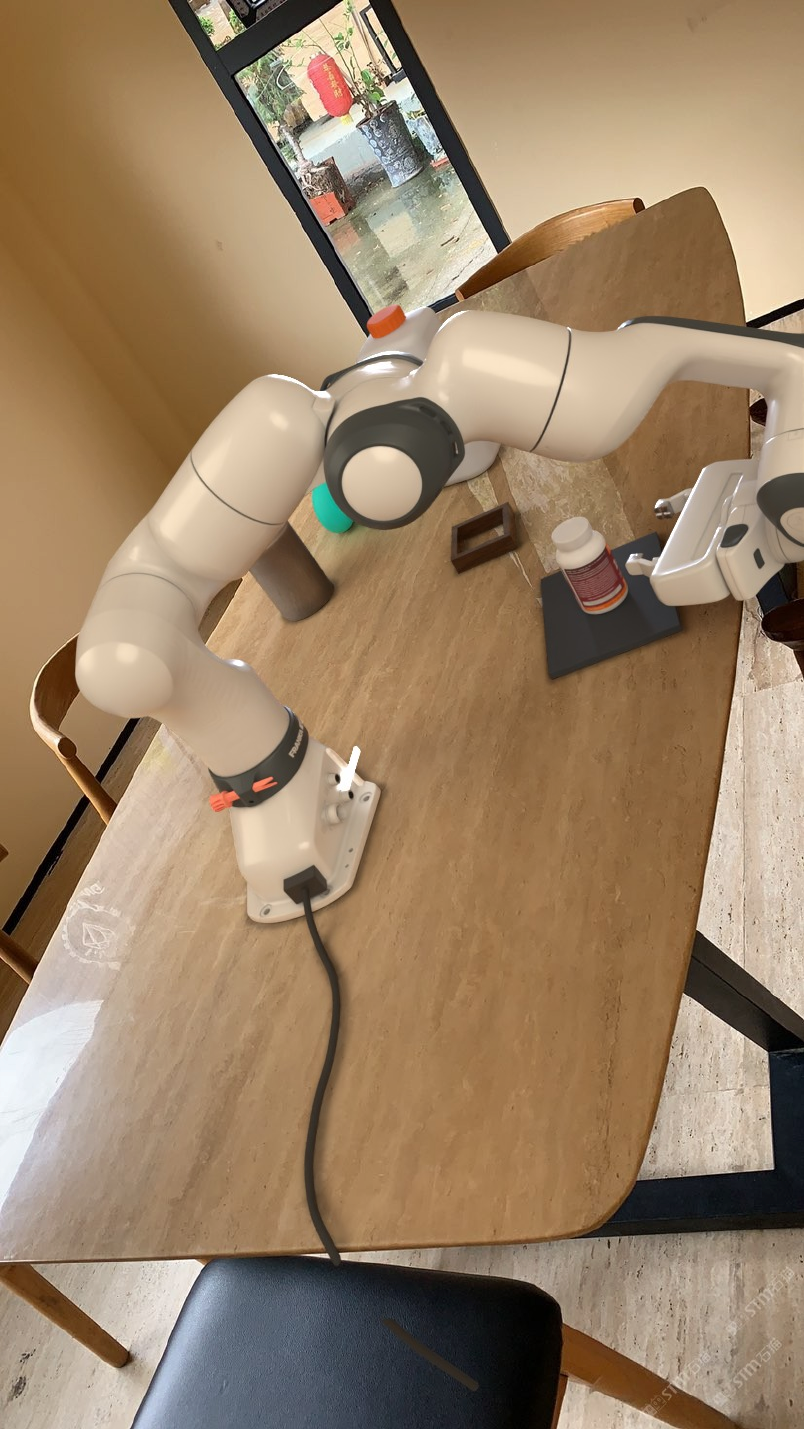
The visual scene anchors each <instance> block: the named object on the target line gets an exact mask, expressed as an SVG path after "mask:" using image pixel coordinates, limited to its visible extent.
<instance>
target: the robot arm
mask: <svg viewBox="0 0 804 1429" xmlns="http://www.w3.org/2000/svg"><path fill="white" fill-rule="evenodd" d="M679 382H694V383H703V384H709V385H717V386H725V387H731V388H732V387H733V388H741V389H747V390H753V391H757V392H758V393H759V394H760V395H761V396H762V397H763V398H764V401H765V403H766V406H767V412H766V420H765V427H764V432H763V440H762V448H761V450H760V455H759V459H755V458H754V459H753V458H746V459H744V458H743V459H729V460H721V461H715V462H714V461H713V462H712V463H710V464H708V465H706V466H705V467H703V468H702V470H701V473H700V474H699V476H698V478H697V481H696V483H695V485H694V487H690V488H686V489H684V490H682V491H681V492H678V493H676V494H675V495H672V496H671V497H668V498H660V499H658V501H657V502H656V504H655V506H654V508H653V512H654V513H655V516H656V519H658V520H660V521H661V520H665V519H666V520H669V519H673V518H674V516H675V514H678V513H680V515H679V517H678V519H677V522H676V523H675V525H674V528H673V529H672V531H671V533H670V536H669V537H668V540H667V541H666V544H665V545H664V548H663V549H662V551H663V552H662V554H661V556H660V557H655V558H653V560H652V561H648V560H645V556H644V554H643V553H641V554H636V555H634V554H632V555H630V557H629V559H628V561H627V563H626V565H625V566H626V568H627V570H628V572H629V574H631V575H642V574H644V575H645V576H647V577H649V578H650V583H651V585H652V588H653V590H654V592H655V594H656V596H657V598H658V599H659V600H660V601H661V602H662V603H664V604H665V605H668V606H677V607H680V606H681V607H682V606H696V605H704V604H711V603H716V602H719V601H723V600H724V599H726V598H728V597H729V596H730V595H732V597H733V598H734V600H735V601H749V600H751V599H753V598H755V596H756V595H757V594H758V593H759V592H760V591H761V589H762V588H763V587H764V586H765V585H766V584H767V583H768V582H769V581H770V580H771V578H772V577H774V576H775V575H776V574H777V573H779V572H780V571H781V570H782V569H783V568H784V566H785V564H792V563H794V564H795V563H800V562H804V332H803V333H802V332H785V331H778V330H772V329H765V328H757V327H751V326H750V327H749V326H745V325H744V326H743V325H736V324H729V323H723V322H715V321H707V320H700V319H693V318H685V317H676V316H665V315H643V316H637V317H633V318H630V319H628V320H626V321H624V322H623V323H622V324H621V325H620V326H619V327H617V329H614V330H607V331H586V330H579V329H575V328H572V327H567V326H565V325H561V324H558V323H554V322H551V321H547V320H544V319H543V320H542V319H538V318H534V317H529V316H524V315H518V314H513V313H506V312H497V311H490V310H489V311H487V310H477V309H476V310H474V309H469V310H463V311H460V312H457V313H455V314H453V315H452V316H451V317H450V318H448V319H447V320H446V321H445V322H444V323H442V327H441V328H440V329H439V331H438V332H437V333H436V335H435V337H434V338H433V340H432V342H431V345H430V347H429V349H428V353H427V356H426V359H425V361H424V362H423V361H422V360H421V359H419V358H417V357H415V356H413V355H411V354H408V353H403V352H395V351H392V352H384V353H380V354H376V355H374V356H371V357H369V358H366V359H364V360H362V361H360V362H359V363H357V364H356V363H355V364H353V365H351V366H349V367H346V368H344V369H341V370H339V371H336V372H334V373H331V374H329V375H326V377H325V378H324V380H323V381H322V384H321V385H320V389H319V391H315V390H313V389H311V388H310V387H308V386H307V385H305V383H302V382H300V381H298V380H296V379H294V378H291V377H288V376H285V375H281V374H280V375H278V374H267V375H266V374H265V375H263V376H259V377H257V378H255V379H253V380H251V381H250V382H249V383H247V385H246V386H245V387H243V389H241V390H240V391H239V392H238V393H237V394H236V395H235V396H234V397H233V398H232V399H231V400H230V401H229V402H228V403H227V404H226V405H225V407H223V409H221V411H220V412H219V413H218V414H217V415H216V416H215V418H214V419H213V420H212V421H211V423H210V424H209V425H208V427H206V429H205V430H204V431H203V433H202V434H201V435H200V436H199V438H198V440H197V442H196V443H195V444H194V446H193V447H192V448H191V449H190V451H189V453H188V454H187V456H186V457H185V459H184V460H183V462H182V463H181V465H180V466H179V468H178V469H177V471H176V472H175V474H174V476H172V478H171V479H170V481H169V483H168V484H167V486H166V487H165V489H163V492H162V493H161V494H160V496H159V498H158V499H157V500H156V502H155V503H154V505H153V506H152V507H151V509H150V510H149V511H148V512H147V514H146V515H145V516H144V517H143V518H142V519H141V520H140V521H139V523H138V524H137V525H136V526H135V527H134V528H133V530H131V532H130V533H129V535H128V536H127V537H126V538H125V539H124V541H123V542H122V544H121V545H120V546H119V548H117V550H116V551H115V553H114V554H113V555H112V557H111V558H110V560H109V561H108V563H107V565H106V567H105V570H104V572H103V575H102V577H101V580H100V581H99V584H98V586H97V590H96V591H95V595H94V596H93V599H92V601H91V604H90V606H89V609H88V611H87V614H86V616H85V618H84V621H83V622H82V626H81V628H80V630H79V633H78V635H77V641H76V648H75V649H76V651H75V672H74V676H75V677H74V678H75V681H76V685H77V688H78V690H79V691H80V693H81V694H82V696H83V697H84V699H86V700H87V701H88V702H89V703H90V704H91V705H92V706H93V707H94V708H96V709H98V710H99V711H101V712H104V713H105V714H108V715H111V716H114V717H119V718H125V719H139V718H146V717H149V718H151V719H153V720H156V721H158V722H159V723H161V724H162V725H163V726H165V727H166V728H168V729H170V730H171V731H172V732H173V733H174V734H175V735H176V736H178V737H179V739H181V741H182V742H183V743H185V744H186V746H187V747H188V748H189V749H190V750H191V751H192V752H193V753H194V754H195V755H196V756H197V758H199V760H200V761H201V762H203V764H204V765H205V766H206V767H207V770H208V773H209V775H210V778H211V779H212V783H213V784H214V786H215V788H216V789H217V791H218V792H219V793H215V794H212V795H210V796H209V801H208V802H209V805H210V808H211V809H212V811H214V812H215V813H221V812H222V811H224V810H225V809H227V808H228V812H229V822H230V828H231V832H232V837H233V838H232V839H233V846H234V850H235V851H234V852H235V857H236V864H237V868H238V870H239V872H240V874H241V876H242V878H243V879H244V880H245V882H246V911H247V912H246V913H247V916H248V917H249V918H250V920H251V921H252V922H256V923H258V924H274V923H275V924H276V923H281V922H286V921H290V920H294V919H297V918H300V917H303V916H305V920H306V924H307V927H308V930H309V934H310V936H311V939H312V942H313V944H314V947H315V950H316V952H317V954H318V955H319V958H320V960H321V962H322V964H323V966H324V968H325V970H326V973H327V975H328V978H329V983H330V989H331V996H332V997H331V998H332V1010H331V1012H332V1013H331V1023H330V1031H329V1037H328V1045H327V1050H326V1054H325V1059H324V1062H323V1066H322V1069H321V1073H320V1076H319V1080H318V1083H317V1085H316V1086H317V1087H316V1089H315V1094H314V1096H313V1102H312V1106H311V1111H310V1117H309V1123H308V1129H307V1134H306V1141H305V1150H304V1164H303V1165H304V1166H303V1170H304V1171H303V1172H304V1173H303V1174H304V1188H305V1195H306V1202H307V1207H308V1212H309V1216H310V1219H311V1222H312V1224H313V1226H314V1229H315V1231H316V1233H317V1236H318V1237H319V1239H320V1242H321V1244H322V1246H323V1247H324V1249H325V1251H326V1253H327V1256H328V1257H329V1259H330V1261H331V1264H333V1265H334V1267H338V1266H339V1265H340V1264H341V1261H342V1257H341V1254H340V1252H339V1251H338V1250H339V1249H337V1247H336V1245H335V1242H334V1241H333V1239H332V1237H331V1234H330V1232H329V1231H328V1229H327V1227H326V1224H325V1222H324V1220H323V1218H322V1215H321V1212H320V1209H319V1206H318V1201H317V1196H316V1191H315V1190H316V1188H315V1180H314V1157H315V1147H316V1140H317V1133H318V1128H319V1122H320V1114H321V1108H322V1104H323V1100H324V1095H325V1093H326V1089H327V1085H328V1082H329V1079H330V1075H331V1072H332V1068H333V1065H334V1061H335V1056H336V1052H337V1044H338V1038H339V1032H340V1031H339V1030H340V1022H341V993H340V985H339V980H338V975H337V971H336V969H335V967H334V965H333V963H332V961H331V959H330V957H329V955H328V953H327V951H326V949H325V946H324V944H323V942H322V938H321V937H320V933H319V931H318V928H317V925H316V922H315V918H314V913H313V912H316V911H318V910H321V909H323V908H324V907H327V906H329V905H330V904H332V903H333V902H335V901H336V900H338V899H339V898H341V897H342V896H343V895H345V894H346V893H347V892H348V891H349V890H350V889H351V888H352V887H353V885H354V883H355V880H356V876H357V873H358V870H359V867H360V863H361V860H362V856H363V853H364V851H365V847H366V843H367V840H368V837H369V833H370V829H371V828H372V823H373V820H374V817H375V813H376V810H377V807H378V804H379V801H380V797H381V793H382V790H381V788H380V787H379V786H378V785H377V784H376V783H375V782H372V781H369V780H365V779H363V778H361V776H359V775H358V773H357V772H356V771H355V770H356V768H357V763H358V760H359V757H360V754H361V750H360V748H359V747H358V746H357V745H356V746H353V750H352V754H351V756H350V759H349V760H350V761H349V763H347V762H346V761H345V760H344V759H343V758H342V757H341V756H340V755H339V754H338V753H337V752H336V751H335V750H334V749H333V748H331V747H329V746H328V745H325V744H324V743H321V742H320V741H319V740H317V739H315V738H313V737H312V736H311V735H309V731H308V729H307V727H306V725H304V723H303V722H302V720H301V718H300V717H299V716H298V715H297V714H296V713H295V712H294V711H292V710H291V709H290V707H288V706H286V705H284V704H282V703H281V701H280V700H279V699H278V697H277V696H276V695H275V694H274V693H273V691H272V690H271V689H270V688H269V687H268V685H267V684H266V683H265V681H263V679H262V678H261V677H260V675H259V674H258V673H257V671H256V670H255V669H254V668H253V667H252V666H251V665H250V664H249V663H247V662H246V661H244V660H240V659H236V658H224V659H223V658H221V657H220V656H218V655H217V654H216V653H214V651H212V650H211V649H210V648H208V647H207V645H206V644H205V642H204V641H203V639H202V637H201V634H200V630H199V627H200V625H201V622H202V620H203V618H204V616H205V613H206V611H207V609H208V607H209V606H210V604H211V602H212V601H213V599H214V598H215V597H216V596H217V595H218V594H219V592H220V591H221V590H222V589H224V588H225V587H226V586H227V585H229V584H230V583H231V582H233V581H238V580H240V579H242V578H244V577H245V576H246V575H247V574H248V573H249V570H250V569H251V568H252V566H253V565H254V564H255V562H256V561H257V560H258V558H259V557H260V556H261V555H262V553H263V552H264V551H265V549H266V548H267V547H268V545H269V544H270V543H271V541H272V540H273V539H274V538H275V536H276V535H277V534H278V532H279V531H280V530H281V528H282V527H283V526H284V524H285V523H286V522H287V521H288V522H289V520H290V518H292V516H293V514H294V513H295V512H296V510H297V508H298V507H299V506H300V505H301V502H303V500H304V498H305V497H307V496H308V495H309V494H311V492H313V489H315V488H316V487H318V486H319V485H321V484H323V483H327V487H328V490H329V492H330V494H331V496H332V498H333V500H334V502H335V503H336V505H337V506H338V507H339V509H340V510H341V511H342V512H343V513H344V514H345V515H346V516H347V517H348V518H350V519H351V520H353V523H356V524H358V525H360V526H361V527H364V528H367V529H372V530H376V531H377V530H378V531H390V530H396V529H400V528H404V527H406V526H409V525H410V524H412V523H414V522H415V521H417V520H418V519H419V518H421V517H422V516H423V515H424V514H425V513H426V512H427V511H428V509H430V507H431V506H432V505H433V503H435V501H436V499H437V498H438V497H439V496H440V494H441V492H442V490H443V489H444V488H445V487H444V486H445V484H446V483H447V481H448V480H449V478H450V477H451V476H452V474H453V473H454V472H455V470H456V469H457V468H458V466H459V465H460V464H461V462H462V461H463V459H464V457H465V447H464V445H465V444H467V443H470V442H473V441H490V442H495V443H499V444H501V445H503V446H507V447H510V448H513V449H517V450H520V451H523V452H527V453H530V454H533V455H537V456H541V457H543V458H546V459H550V460H551V459H552V460H554V461H559V462H565V463H573V464H574V463H575V464H585V463H588V462H594V461H596V460H600V459H602V458H604V457H606V456H609V455H610V454H611V453H613V452H615V451H616V450H617V449H618V448H620V447H621V446H622V445H623V444H624V443H625V442H626V441H627V440H628V439H629V438H630V437H631V436H632V435H633V434H634V433H635V432H636V431H637V428H638V427H639V426H640V425H641V424H642V422H643V421H644V419H645V418H646V416H647V415H648V413H649V412H650V410H651V409H652V407H653V406H654V404H655V403H656V402H657V399H658V398H659V397H660V396H661V393H663V391H664V389H665V388H666V387H669V386H670V385H672V384H674V383H679ZM329 383H330V385H329ZM328 385H329V386H328ZM457 450H458V454H457V453H456V451H457ZM380 1322H381V1323H382V1324H383V1325H384V1326H386V1328H387V1329H389V1330H390V1331H391V1332H392V1333H393V1334H394V1335H395V1336H396V1337H397V1338H399V1340H401V1341H402V1342H403V1343H405V1345H406V1346H408V1347H409V1348H410V1349H412V1350H413V1351H415V1352H416V1353H417V1354H418V1355H420V1356H421V1357H423V1358H424V1359H426V1361H428V1362H430V1363H431V1364H432V1365H434V1366H436V1367H437V1368H438V1369H440V1370H442V1371H443V1372H445V1373H446V1374H447V1375H449V1376H451V1377H452V1378H454V1379H455V1380H457V1381H458V1382H460V1383H461V1384H462V1385H464V1386H465V1387H467V1388H469V1390H470V1391H472V1392H474V1391H476V1390H477V1389H478V1387H479V1385H478V1384H479V1383H478V1382H477V1381H476V1380H474V1379H473V1378H472V1377H470V1376H469V1375H468V1374H467V1373H465V1372H464V1371H462V1370H461V1369H459V1368H458V1367H457V1366H455V1365H453V1364H452V1363H450V1362H449V1361H447V1360H446V1359H444V1358H443V1357H441V1356H440V1355H439V1354H437V1353H436V1352H434V1351H432V1350H431V1349H430V1348H428V1346H426V1345H424V1344H423V1343H422V1342H421V1341H419V1340H418V1339H417V1338H415V1337H414V1336H413V1335H412V1334H411V1333H409V1332H408V1331H407V1330H406V1329H405V1328H404V1327H402V1326H401V1325H400V1324H399V1323H398V1322H397V1321H396V1320H395V1319H394V1318H393V1317H391V1318H384V1319H380Z"/></svg>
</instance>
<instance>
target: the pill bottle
mask: <svg viewBox="0 0 804 1429" xmlns="http://www.w3.org/2000/svg"><path fill="white" fill-rule="evenodd" d="M550 537H551V542H552V544H553V545H554V547H555V548H556V551H555V555H554V556H555V561H556V564H557V565H558V567H559V569H560V571H562V573H563V575H564V577H565V579H566V581H567V583H568V584H569V586H570V588H571V590H572V592H573V594H574V596H575V598H576V599H577V601H578V603H579V605H580V607H581V608H582V610H583V611H584V612H586V613H588V614H602V613H606V612H608V611H611V610H613V609H614V608H616V607H617V606H618V605H620V604H621V603H622V601H623V600H624V599H625V597H626V596H627V593H628V586H627V583H626V581H625V579H624V577H623V575H622V573H621V571H620V569H619V567H618V565H617V563H616V561H615V559H614V557H613V555H612V553H611V551H610V550H611V549H610V547H609V544H608V543H607V540H606V539H605V537H604V536H603V534H602V533H600V532H599V531H598V530H594V529H593V527H592V525H591V523H590V521H589V520H588V519H587V518H586V517H584V516H574V517H571V518H568V519H566V520H564V521H562V522H561V523H559V524H558V525H557V526H556V527H555V528H554V529H553V531H552V533H551V536H550Z"/></svg>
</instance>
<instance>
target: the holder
mask: <svg viewBox="0 0 804 1429" xmlns="http://www.w3.org/2000/svg"><path fill="white" fill-rule="evenodd" d="M516 520H517V518H516V513H515V512H514V510H513V507H512V506H511V504H510V502H509V501H506V502H504V503H502V504H500V505H498V506H495V507H493V508H491V509H489V510H486V511H484V512H482V513H480V514H477V515H475V516H473V517H471V518H468V519H466V520H464V521H462V522H459V523H457V524H455V525H452V526H451V534H450V537H451V538H450V563H451V564H452V566H453V567H454V569H455V571H456V572H457V574H459V575H460V574H461V573H464V572H466V571H468V570H471V569H473V568H476V567H477V566H480V565H483V564H485V563H487V562H489V561H492V560H494V559H497V558H498V557H501V556H504V555H507V554H508V553H511V552H512V551H515V550H517V549H518V536H517V535H518V534H517V522H516ZM500 525H502V527H503V528H502V529H503V534H501V535H498V536H497V537H496V536H495V537H494V538H491V539H489V540H487V541H485V542H483V543H480V544H477V545H475V546H474V547H470V548H468V549H466V548H465V547H466V546H465V545H466V544H465V543H466V542H465V541H467V540H469V539H471V538H473V537H476V536H478V535H481V534H482V533H485V532H487V531H489V530H491V529H494V528H496V527H498V526H500ZM465 549H466V550H465Z"/></svg>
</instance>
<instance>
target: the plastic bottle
mask: <svg viewBox="0 0 804 1429" xmlns="http://www.w3.org/2000/svg"><path fill="white" fill-rule="evenodd" d="M442 325H443V323H442V322H441V320H440V318H439V316H438V315H437V313H436V311H435V310H434V309H433V308H431V307H428V306H422V307H421V306H420V307H419V308H415V309H413V310H410V311H408V312H406V313H405V312H404V310H403V309H402V306H401V305H399V304H395V303H394V304H390V305H387V306H385V307H383V308H381V309H380V310H378V311H377V312H376V313H374V314H373V315H372V316H371V317H370V318H369V319H368V320H367V323H366V329H367V330H368V332H369V335H368V337H367V338H366V339H365V341H364V343H363V344H362V346H361V348H360V350H359V352H358V354H357V356H356V359H355V364H357V363H359V362H360V361H362V360H364V359H366V358H369V357H371V356H374V355H376V354H380V353H384V352H392V351H395V352H403V353H408V354H411V355H413V356H415V357H417V358H419V359H421V360H422V361H423V362H424V361H425V359H426V356H427V353H428V349H429V347H430V345H431V342H432V340H433V338H434V337H435V335H436V333H437V332H438V331H439V329H440V328H441V327H442ZM501 445H502V444H499V443H495V442H490V441H473V442H470V443H467V444H465V445H464V447H465V457H464V459H463V461H462V462H461V464H460V465H459V466H458V468H457V469H456V470H455V472H454V473H453V474H452V476H451V477H450V478H449V480H448V481H447V483H446V484H445V486H444V487H443V488H445V487H448V486H452V485H456V484H458V483H462V482H465V481H469V480H471V479H475V478H476V477H478V476H480V475H482V474H483V473H485V472H486V471H487V470H488V469H489V468H490V467H491V466H492V465H493V464H494V463H495V460H496V458H497V456H498V453H499V451H500V448H501ZM456 453H457V454H458V450H457V451H456Z"/></svg>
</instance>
